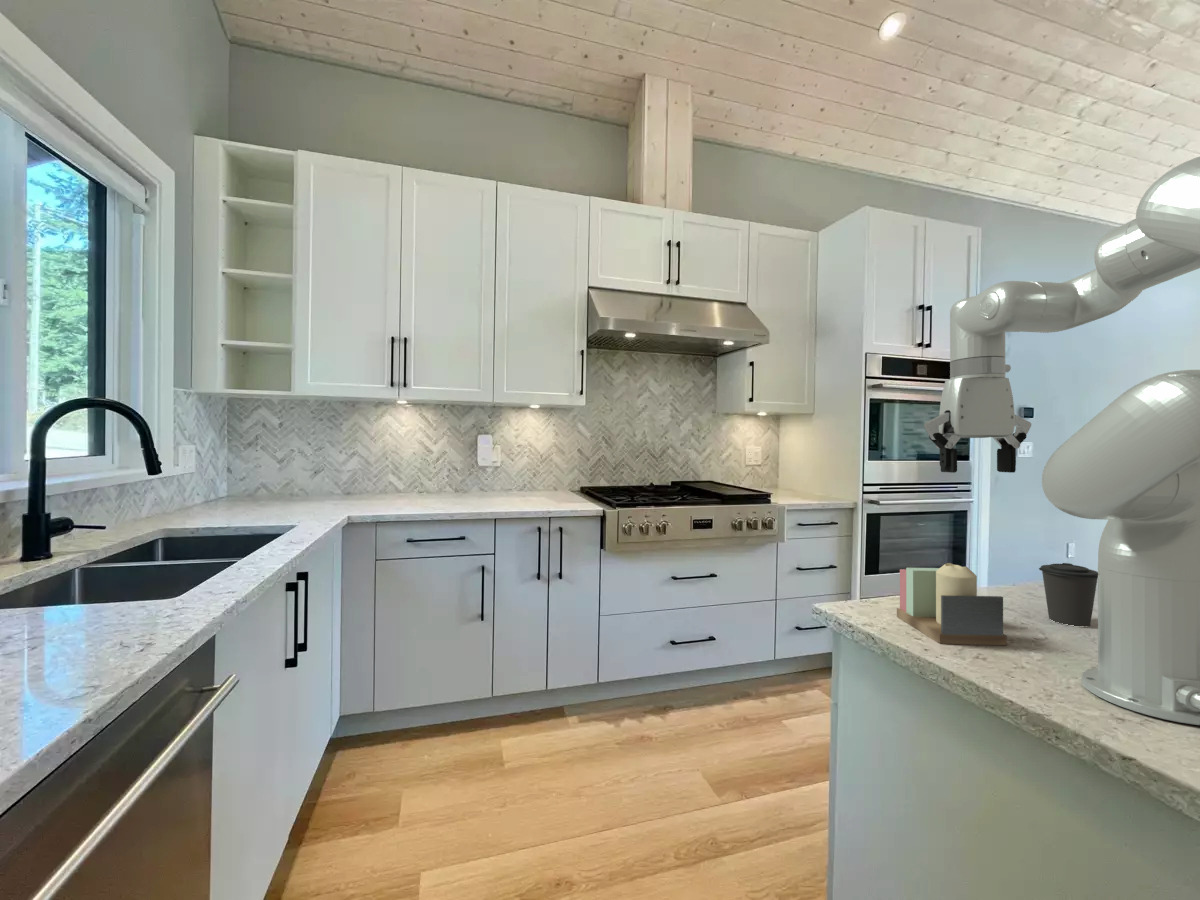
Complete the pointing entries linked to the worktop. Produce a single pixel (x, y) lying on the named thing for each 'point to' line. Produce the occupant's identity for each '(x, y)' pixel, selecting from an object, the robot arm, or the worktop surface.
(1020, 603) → the worktop surface
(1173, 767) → the worktop surface
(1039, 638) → the worktop surface
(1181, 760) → the worktop surface
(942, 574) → the candle
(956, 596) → the bookend
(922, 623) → the brown wooden board
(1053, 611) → the coffee cup
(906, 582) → the books
